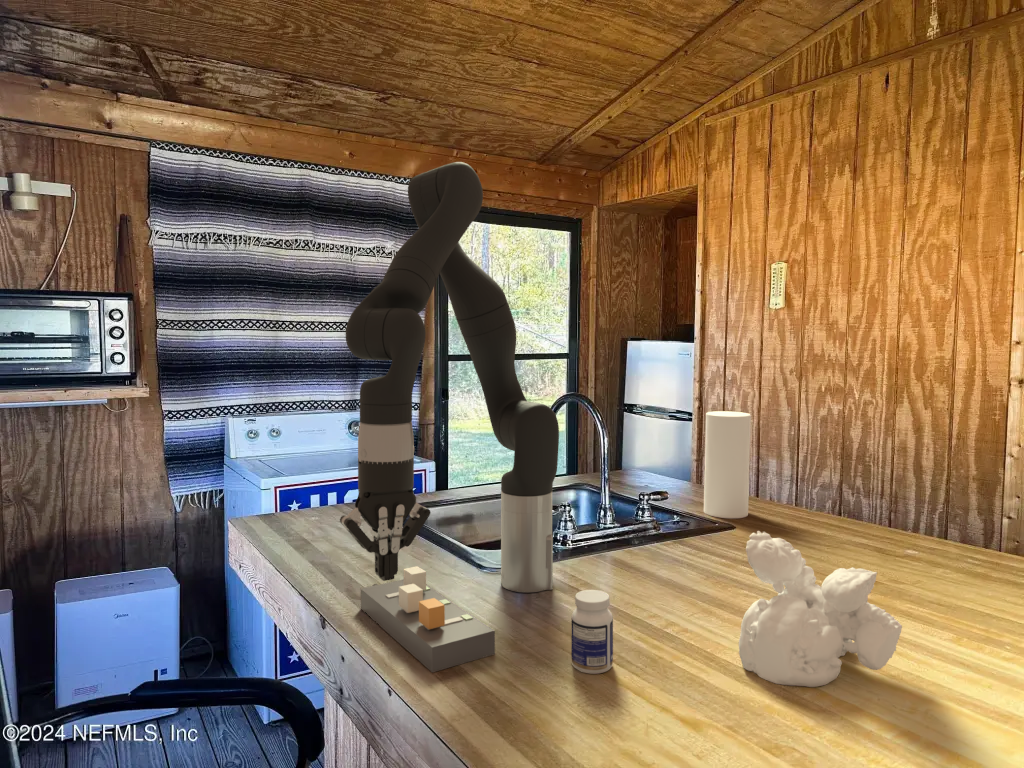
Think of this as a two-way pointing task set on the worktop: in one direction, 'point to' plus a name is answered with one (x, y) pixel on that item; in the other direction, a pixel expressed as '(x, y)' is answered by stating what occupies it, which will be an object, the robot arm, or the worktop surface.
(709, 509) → the tall pillar cylinder
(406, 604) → the switch
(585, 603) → the pill bottle
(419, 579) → the switch
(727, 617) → the worktop surface
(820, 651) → the white plaster sculpture
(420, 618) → the switch
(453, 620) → the slider control box
